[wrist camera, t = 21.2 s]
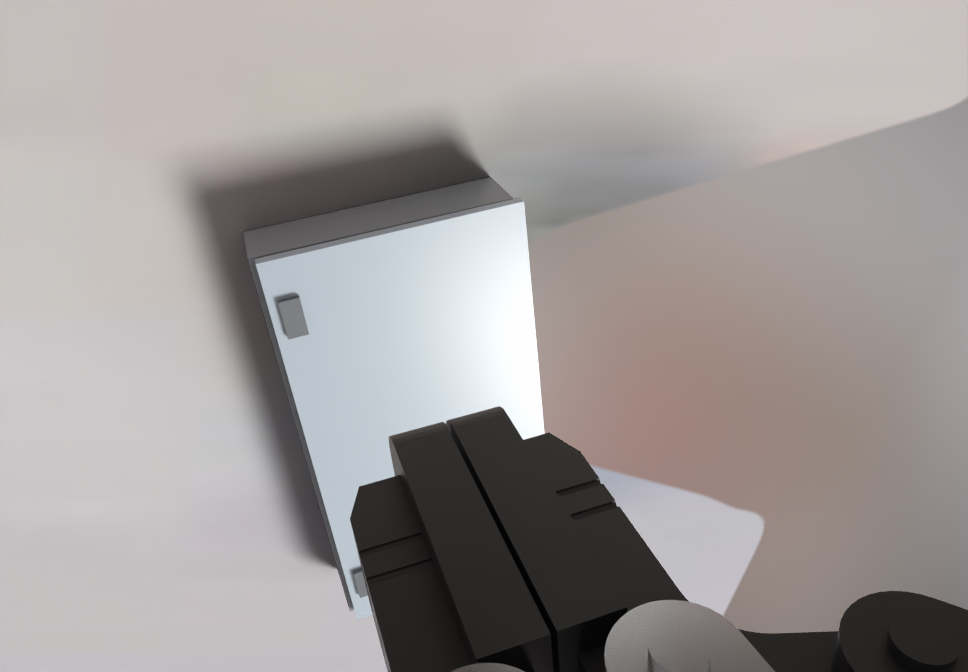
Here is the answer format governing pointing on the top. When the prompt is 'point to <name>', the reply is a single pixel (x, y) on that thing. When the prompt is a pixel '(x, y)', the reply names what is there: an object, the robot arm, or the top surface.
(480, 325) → the cover
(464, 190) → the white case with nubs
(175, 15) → the top surface
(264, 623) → the top surface
